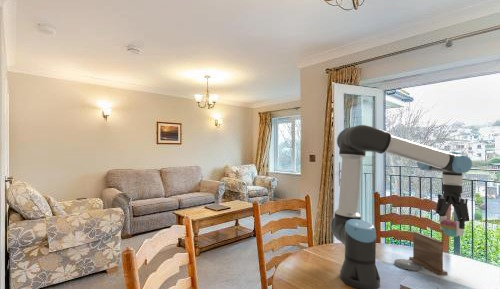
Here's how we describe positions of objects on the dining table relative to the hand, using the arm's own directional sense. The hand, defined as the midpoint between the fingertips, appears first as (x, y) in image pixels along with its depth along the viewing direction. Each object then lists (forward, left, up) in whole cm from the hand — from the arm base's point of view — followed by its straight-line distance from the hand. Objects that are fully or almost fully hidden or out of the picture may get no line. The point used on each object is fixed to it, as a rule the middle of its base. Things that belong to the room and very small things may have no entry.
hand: (451, 232), depth 122 cm
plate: (-20, +3, -16) cm, 26 cm away
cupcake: (0, 0, -2) cm, 2 cm away
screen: (-11, +2, -16) cm, 20 cm away
